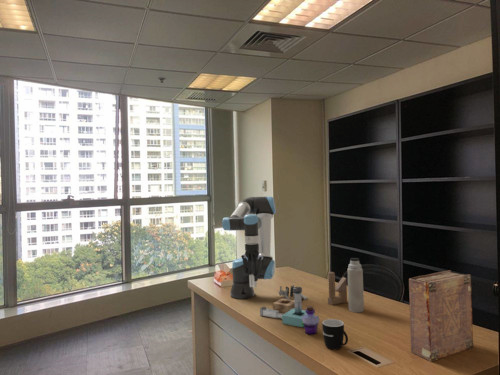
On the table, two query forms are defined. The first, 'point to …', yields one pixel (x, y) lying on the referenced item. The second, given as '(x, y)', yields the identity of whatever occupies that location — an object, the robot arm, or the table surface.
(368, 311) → the table surface
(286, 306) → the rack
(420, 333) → the book
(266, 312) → the pale gray faceted bar
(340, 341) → the mug
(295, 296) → the metal flashlight
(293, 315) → the socket block
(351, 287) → the thermos bottle
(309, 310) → the potion bottle
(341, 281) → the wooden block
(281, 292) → the bike brake
